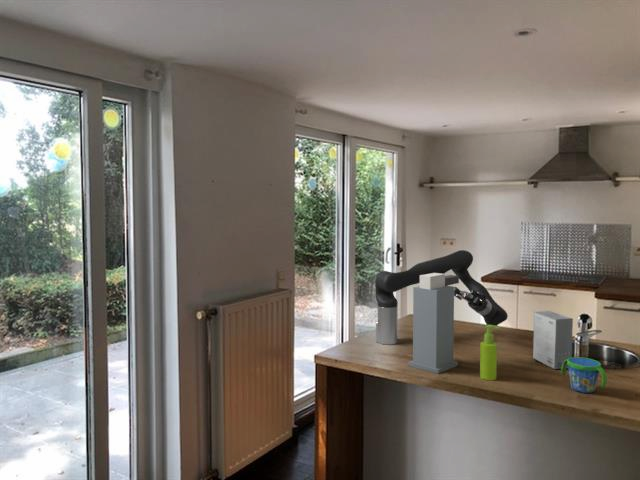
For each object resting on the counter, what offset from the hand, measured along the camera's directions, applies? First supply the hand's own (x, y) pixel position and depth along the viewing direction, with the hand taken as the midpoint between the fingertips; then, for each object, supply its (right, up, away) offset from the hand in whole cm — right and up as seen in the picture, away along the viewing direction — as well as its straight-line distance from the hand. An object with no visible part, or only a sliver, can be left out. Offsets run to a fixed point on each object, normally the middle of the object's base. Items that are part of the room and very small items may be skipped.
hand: (463, 290), depth 222 cm
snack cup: (+31, -31, -40) cm, 59 cm away
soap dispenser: (+2, -30, -27) cm, 41 cm away
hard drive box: (+33, -29, -11) cm, 45 cm away
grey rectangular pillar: (-16, -29, -13) cm, 35 cm away
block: (-13, +3, -12) cm, 18 cm away
